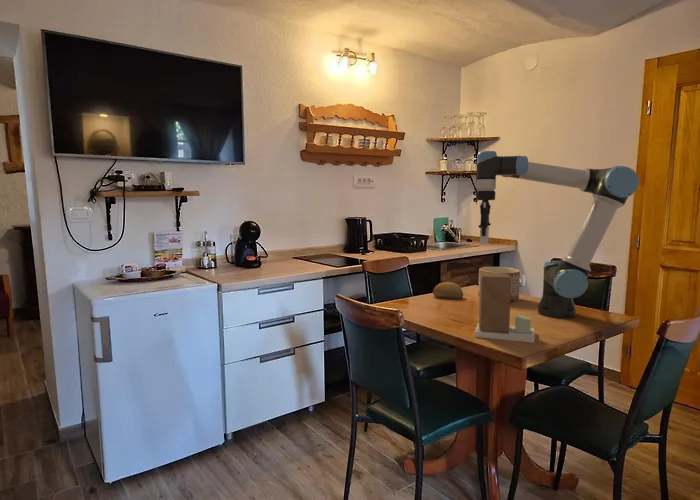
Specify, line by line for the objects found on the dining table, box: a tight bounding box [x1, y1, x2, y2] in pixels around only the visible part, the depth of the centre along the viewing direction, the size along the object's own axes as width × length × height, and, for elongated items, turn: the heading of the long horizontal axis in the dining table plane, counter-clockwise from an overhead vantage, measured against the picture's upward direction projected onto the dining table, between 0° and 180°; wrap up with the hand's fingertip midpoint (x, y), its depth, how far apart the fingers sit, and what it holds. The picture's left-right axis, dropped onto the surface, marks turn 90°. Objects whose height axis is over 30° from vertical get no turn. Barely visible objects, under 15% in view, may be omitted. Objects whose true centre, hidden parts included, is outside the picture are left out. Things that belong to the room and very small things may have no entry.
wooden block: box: [478, 272, 511, 333], centre depth 169 cm, size 10×10×20 cm
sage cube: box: [514, 314, 532, 334], centre depth 166 cm, size 5×5×5 cm
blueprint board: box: [474, 322, 536, 344], centre depth 169 cm, size 20×12×2 cm, turn 70°
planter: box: [477, 266, 521, 303], centre depth 229 cm, size 19×19×15 cm
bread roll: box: [432, 281, 464, 300], centre depth 233 cm, size 10×15×8 cm, turn 75°
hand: (484, 242), depth 190 cm, fingers open, 13 cm apart
